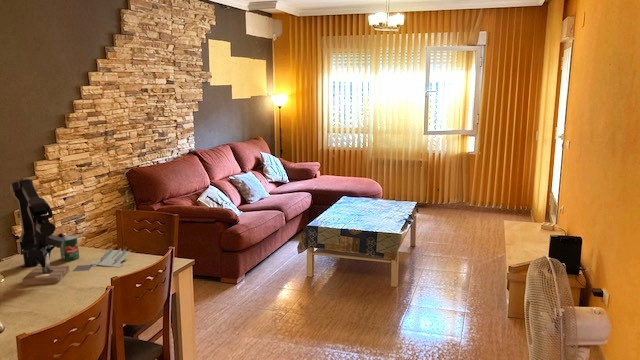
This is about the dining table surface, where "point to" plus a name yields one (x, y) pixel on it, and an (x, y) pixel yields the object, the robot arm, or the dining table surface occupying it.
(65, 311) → the dining table surface
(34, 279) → the walnut hole plate
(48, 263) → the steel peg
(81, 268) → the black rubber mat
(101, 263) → the metal bracket
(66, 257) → the canned tomato
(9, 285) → the dining table surface
